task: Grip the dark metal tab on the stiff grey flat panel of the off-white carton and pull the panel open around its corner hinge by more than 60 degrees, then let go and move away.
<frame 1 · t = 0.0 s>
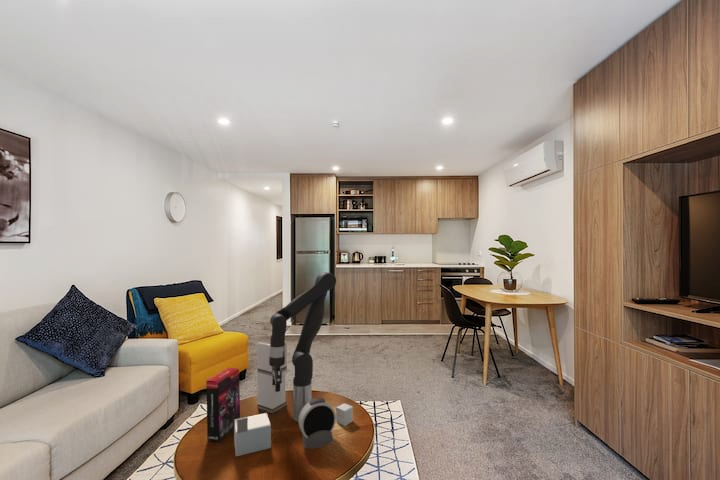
hand: (276, 388, 162), 17 cm above the table, tool pointing down, fingers open, 8 cm apart
graphics card box: (223, 433, 154), on the table
alarm clock: (317, 441, 147), on the table
grey square tower: (272, 406, 180), on the table
grey flat panel: (253, 433, 139), point 8 cm above the table, hinge at 0.0°
carton: (252, 445, 144), on the table
product box: (344, 422, 163), on the table
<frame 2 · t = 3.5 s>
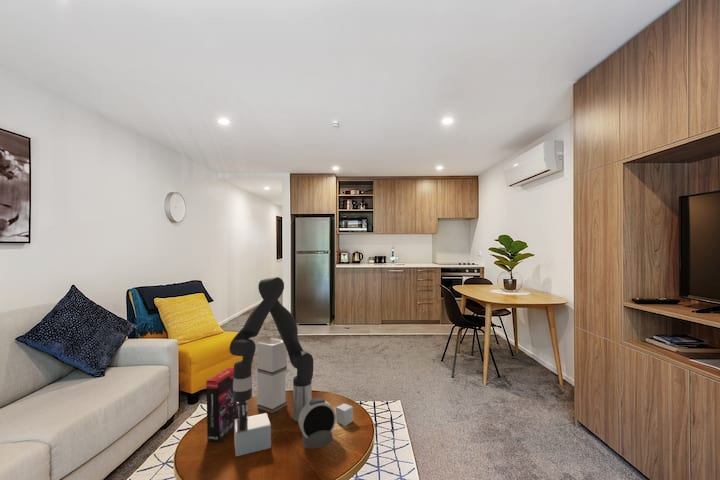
hand: (242, 429, 137), 11 cm above the table, tool pointing down, fingers closed
grey flat panel: (253, 433, 139), point 8 cm above the table, hinge at 0.0°, touching gripper
everything else where it was.
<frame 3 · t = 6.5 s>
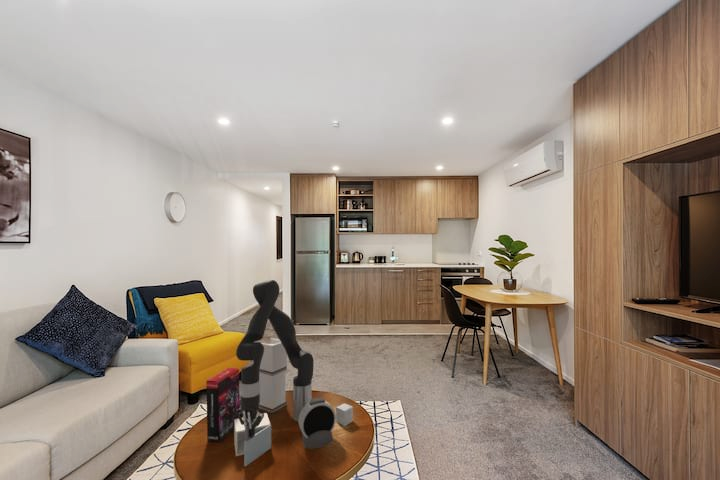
hand: (249, 436, 132), 11 cm above the table, tool pointing down, fingers closed
grey flat panel: (258, 438, 136), point 8 cm above the table, hinge at 36.6°, touching gripper
everything else where it was.
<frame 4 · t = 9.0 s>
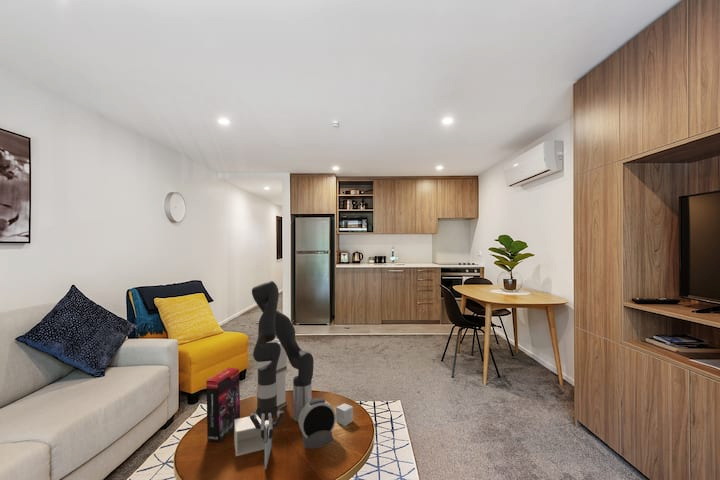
hand: (267, 437, 130), 11 cm above the table, tool pointing down, fingers closed
grey flat panel: (268, 439, 135), point 8 cm above the table, hinge at 73.0°
everything else where it was.
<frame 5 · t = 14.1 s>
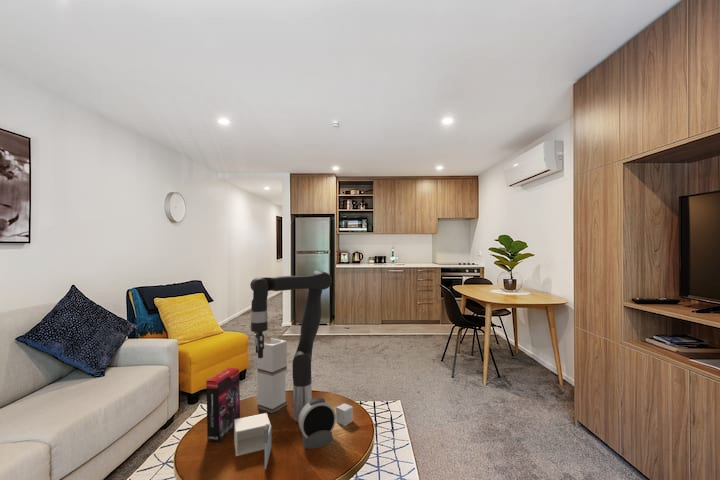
hand: (259, 355, 154), 36 cm above the table, tool pointing down, fingers open, 8 cm apart
nothing on the table moved.
at the end: grey flat panel at +73° (first picture: +0°); the gripper is holding nothing; graphics card box moved 0.2 cm from its start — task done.
